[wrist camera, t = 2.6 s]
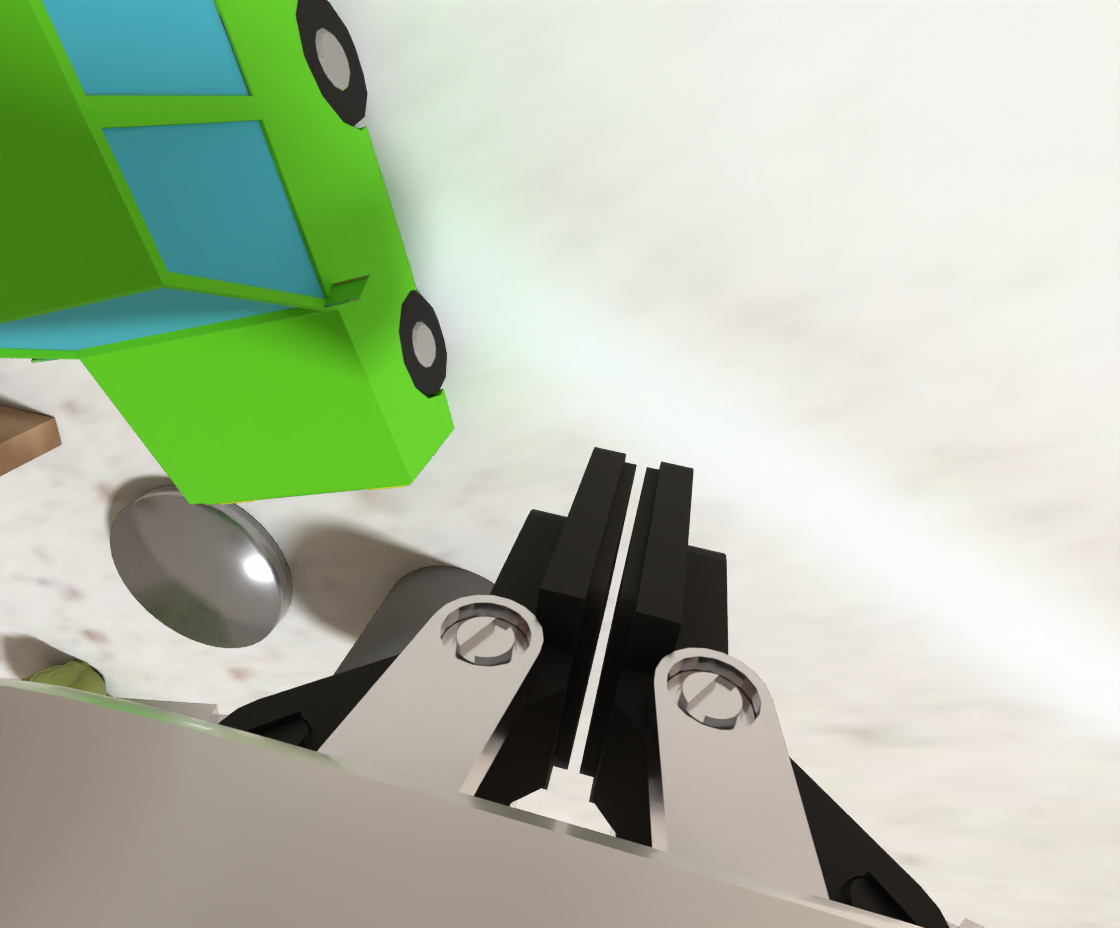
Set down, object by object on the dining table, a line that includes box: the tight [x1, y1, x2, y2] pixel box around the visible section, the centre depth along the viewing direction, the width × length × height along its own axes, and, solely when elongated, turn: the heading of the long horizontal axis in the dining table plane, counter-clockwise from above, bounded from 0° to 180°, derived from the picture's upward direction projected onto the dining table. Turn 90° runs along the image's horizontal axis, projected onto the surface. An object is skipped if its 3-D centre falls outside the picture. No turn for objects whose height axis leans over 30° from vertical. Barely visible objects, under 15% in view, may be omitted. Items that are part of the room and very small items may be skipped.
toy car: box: [0, 0, 454, 505], centre depth 17 cm, size 10×13×10 cm
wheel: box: [334, 566, 494, 675], centre depth 25 cm, size 6×6×6 cm
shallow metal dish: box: [110, 485, 293, 648], centre depth 28 cm, size 8×8×1 cm
